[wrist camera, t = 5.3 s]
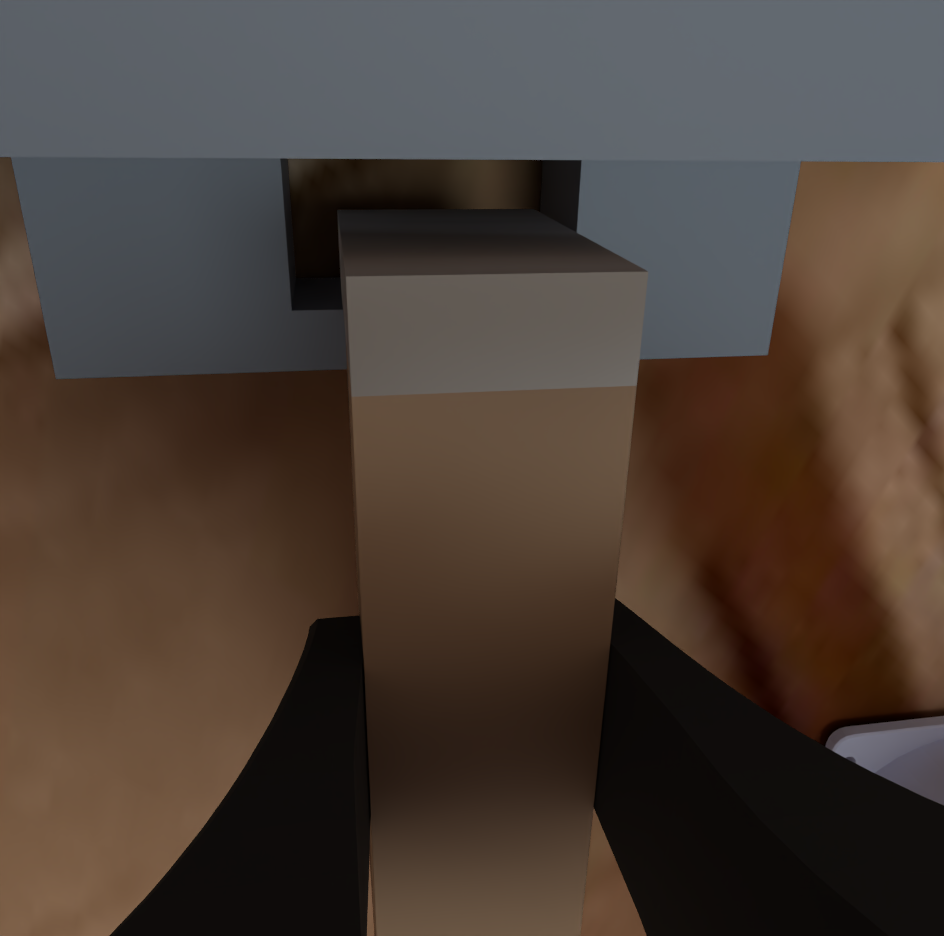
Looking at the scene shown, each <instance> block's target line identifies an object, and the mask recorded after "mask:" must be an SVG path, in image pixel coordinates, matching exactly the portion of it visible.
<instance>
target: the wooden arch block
mask: <svg viewBox="0 0 944 936" xmlns="http://www.w3.org/2000/svg"><path fill="white" fill-rule="evenodd" d="M337 217H338V237H339V257H340V277H341V294H342V304H343V314H344V325H345V338H346V358H347V379H348V400H349V420H350V441H351V462H352V482H353V503H354V524H355V545H356V565H357V586H358V607H359V616H360V623H361V634H362V646H363V662H364V683H365V704H366V726H367V747H368V769H369V790H370V811H371V821H370V851H369V854H370V870H371V886H372V902H373V918H374V934H375V936H580V933H581V924H582V914H583V904H584V894H585V885H586V875H587V865H588V856H589V846H590V836H591V826H592V817H593V807H594V797H595V787H596V778H597V768H598V758H599V748H600V739H601V729H602V719H603V709H604V700H605V690H606V680H607V670H608V661H609V651H610V641H611V631H612V622H613V612H614V602H615V592H616V583H617V573H618V563H619V553H620V544H621V534H622V524H623V515H624V505H625V495H626V485H627V476H628V466H629V456H630V446H631V437H632V427H633V417H634V407H635V398H636V388H637V378H638V368H639V359H640V349H641V339H642V329H643V320H644V310H645V300H646V290H647V281H648V271H646V270H645V269H643V268H641V267H639V266H637V265H635V264H634V263H632V262H630V261H628V260H626V259H624V258H623V257H621V256H619V255H617V254H615V253H613V252H612V251H610V250H608V249H606V248H604V247H602V246H601V245H599V244H597V243H595V242H593V241H591V240H589V239H588V238H586V237H584V236H582V235H580V234H578V233H577V232H575V231H573V230H571V229H569V228H567V227H566V226H564V225H562V224H560V223H558V222H556V221H555V220H553V219H551V218H549V217H547V216H545V215H544V214H542V213H540V212H538V211H536V210H534V209H418V210H337Z"/></svg>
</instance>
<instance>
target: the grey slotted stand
mask: <svg viewBox="0 0 944 936" xmlns="http://www.w3.org/2000/svg"><path fill="white" fill-rule="evenodd" d="M0 157H11V160H12V165H13V170H14V175H15V180H16V184H17V189H18V194H19V199H20V204H21V209H22V214H23V219H24V224H25V229H26V234H27V239H28V244H29V249H30V254H31V258H32V263H33V268H34V273H35V278H36V283H37V288H38V293H39V298H40V303H41V308H42V313H43V318H44V323H45V328H46V332H47V337H48V342H49V347H50V352H51V357H52V362H53V367H54V372H55V377H56V379H74V378H104V377H134V376H163V375H193V374H222V373H252V372H281V371H311V370H340V369H347V358H346V338H345V325H344V314H343V304H342V294H341V277H329V278H296V269H295V255H294V241H293V227H292V213H291V199H290V185H289V171H288V159H473V160H543V163H542V184H541V204H540V213H542V214H544V215H545V216H547V217H549V218H551V219H553V220H555V221H556V222H558V223H560V224H562V225H564V226H566V227H567V228H569V229H571V230H573V231H575V232H577V233H578V234H580V235H582V236H584V237H586V238H588V239H589V240H591V241H593V242H595V243H597V244H599V245H601V246H602V247H604V248H606V249H608V250H610V251H612V252H613V253H615V254H617V255H619V256H621V257H623V258H624V259H626V260H628V261H630V262H632V263H634V264H635V265H637V266H639V267H641V268H643V269H645V270H646V271H648V281H647V290H646V300H645V310H644V320H643V329H642V339H641V349H640V359H665V358H695V357H724V356H754V355H768V349H769V344H770V338H771V332H772V326H773V320H774V315H775V309H776V303H777V297H778V291H779V286H780V280H781V274H782V268H783V262H784V257H785V251H786V245H787V239H788V233H789V227H790V222H791V216H792V210H793V204H794V198H795V193H796V187H797V181H798V175H799V169H800V164H801V161H849V162H944V0H0Z"/></svg>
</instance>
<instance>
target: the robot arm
mask: <svg viewBox="0 0 944 936" xmlns="http://www.w3.org/2000/svg"><path fill="white" fill-rule="evenodd" d="M594 809H595V811H596V814H597V816H598V818H599V821H600V823H601V826H602V828H603V830H604V833H605V835H606V837H607V840H608V842H609V845H610V847H611V849H612V852H613V854H614V856H615V859H616V861H617V864H618V866H619V868H620V871H621V873H622V875H623V878H624V880H625V883H626V885H627V887H628V890H629V892H630V894H631V897H632V899H633V902H634V904H635V906H636V909H637V911H638V913H639V916H640V919H641V921H642V924H643V927H644V929H645V932H646V935H647V936H944V716H938V717H929V718H920V719H911V720H902V721H893V722H884V723H875V724H866V725H857V726H848V727H843V728H839V729H837V730H836V731H834V732H833V733H832V734H831V735H830V736H829V738H828V740H827V742H826V746H823V745H821V744H820V743H818V742H816V741H814V740H813V739H811V738H809V737H807V736H806V735H804V734H802V733H800V732H799V731H797V730H795V729H794V728H792V727H790V726H789V725H787V724H786V723H784V722H782V721H781V720H779V719H778V718H776V717H774V716H773V715H771V714H770V713H768V712H767V711H765V710H764V709H762V708H761V707H759V706H758V705H756V704H755V703H753V702H752V701H750V700H749V699H747V698H746V697H744V696H743V695H741V694H740V693H738V692H737V691H736V690H734V689H733V688H731V687H730V686H729V685H727V684H726V683H724V682H723V681H722V680H720V679H719V678H717V677H716V676H715V675H713V674H712V673H711V672H709V671H708V670H706V669H705V668H704V667H702V666H701V665H700V664H699V663H697V662H696V661H695V660H693V659H692V658H691V657H689V656H688V655H687V654H685V653H684V652H683V651H682V650H680V649H679V648H678V647H676V646H675V645H674V644H673V643H671V642H670V641H669V640H668V639H666V638H665V637H664V636H662V635H661V634H660V633H659V632H657V631H656V630H655V629H654V628H652V627H651V626H650V625H649V624H647V623H646V622H645V621H644V620H642V619H641V618H640V617H639V616H637V615H636V614H635V613H634V612H632V611H631V610H630V609H629V608H627V607H626V606H625V605H624V604H622V603H621V602H620V601H618V600H617V599H616V598H615V602H614V612H613V622H612V631H611V641H610V651H609V661H608V670H607V680H606V690H605V700H604V709H603V719H602V729H601V739H600V748H599V758H598V768H597V778H596V787H595V797H594ZM370 821H371V811H370V790H369V769H368V747H367V726H366V704H365V683H364V662H363V646H362V634H361V623H360V616H349V617H336V618H324V619H317V620H316V621H315V622H314V623H313V624H312V625H311V626H310V629H309V634H308V638H307V641H306V644H305V647H304V650H303V653H302V656H301V658H300V661H299V663H298V666H297V668H296V670H295V673H294V675H293V677H292V680H291V682H290V684H289V686H288V688H287V690H286V692H285V694H284V696H283V698H282V700H281V703H280V705H279V707H278V709H277V711H276V713H275V715H274V717H273V719H272V720H271V722H270V724H269V726H268V728H267V730H266V731H265V733H264V735H263V736H262V738H261V740H260V742H259V743H258V745H257V747H256V748H255V750H254V752H253V753H252V755H251V757H250V759H249V760H248V762H247V764H246V765H245V767H244V769H243V770H242V772H241V773H240V775H239V777H238V778H237V780H236V781H235V783H234V784H233V786H232V787H231V789H230V790H229V792H228V793H227V795H226V796H225V798H224V799H223V800H222V802H221V803H220V805H219V806H218V807H217V809H216V810H215V812H214V813H213V814H212V816H211V817H210V819H209V820H208V821H207V823H206V824H205V826H204V827H203V828H202V830H201V831H200V832H199V833H198V835H197V836H196V837H195V838H194V840H193V841H192V842H191V843H190V845H189V846H188V847H187V848H186V850H185V851H184V852H183V853H182V855H181V856H180V857H179V858H178V860H177V861H176V862H175V864H174V865H173V866H172V867H171V869H170V870H169V871H168V872H167V873H166V874H165V876H164V877H163V878H162V879H161V880H160V882H159V883H158V884H157V885H156V886H155V887H154V889H153V890H152V891H151V892H150V893H149V894H148V895H147V896H146V898H145V899H144V900H143V901H142V902H141V903H140V904H139V905H138V906H137V907H136V908H135V909H134V910H133V911H132V912H131V913H130V915H129V916H128V917H127V918H126V919H125V920H124V921H123V922H122V923H121V924H120V925H119V926H118V927H117V928H116V929H115V930H114V931H113V933H112V934H111V935H110V936H367V909H368V880H369V851H370Z"/></svg>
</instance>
